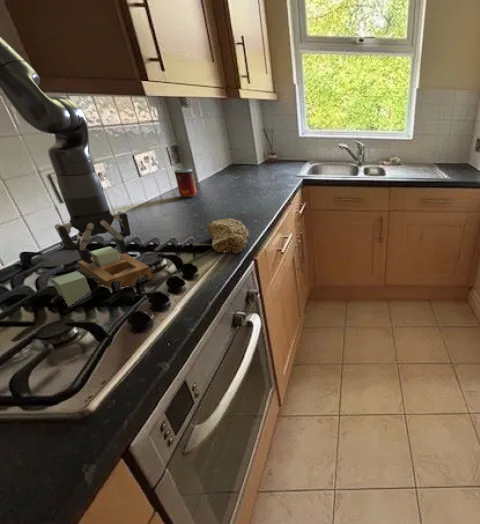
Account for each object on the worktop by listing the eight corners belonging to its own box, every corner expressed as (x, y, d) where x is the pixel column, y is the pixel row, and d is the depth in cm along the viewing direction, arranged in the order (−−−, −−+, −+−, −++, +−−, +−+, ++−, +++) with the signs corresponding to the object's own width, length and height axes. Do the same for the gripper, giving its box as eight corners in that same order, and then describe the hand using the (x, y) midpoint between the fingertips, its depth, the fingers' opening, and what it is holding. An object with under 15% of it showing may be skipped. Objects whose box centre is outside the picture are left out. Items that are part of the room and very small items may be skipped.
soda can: (181, 194, 153) (175, 167, 148) (198, 194, 155) (193, 167, 150) (178, 198, 147) (172, 170, 142) (196, 198, 149) (190, 170, 144)
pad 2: (105, 278, 83) (97, 256, 80) (97, 272, 85) (89, 251, 82) (124, 271, 86) (117, 250, 83) (116, 266, 88) (109, 246, 85)
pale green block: (69, 309, 70) (59, 284, 68) (62, 302, 72) (51, 278, 70) (94, 300, 74) (85, 276, 71) (86, 294, 76) (77, 270, 73)
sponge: (251, 257, 99) (253, 222, 114) (242, 236, 94) (245, 202, 109) (206, 267, 97) (214, 230, 112) (194, 246, 92) (205, 211, 107)
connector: (110, 294, 76) (106, 281, 75) (82, 273, 84) (77, 261, 83) (152, 278, 83) (149, 266, 81) (122, 261, 91) (119, 249, 89)
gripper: (111, 184, 83) (130, 245, 91) (36, 196, 73) (64, 263, 80) (125, 189, 80) (143, 252, 87) (48, 202, 69) (77, 272, 76)
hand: (105, 257), depth 83 cm, fingers open, 6 cm apart
